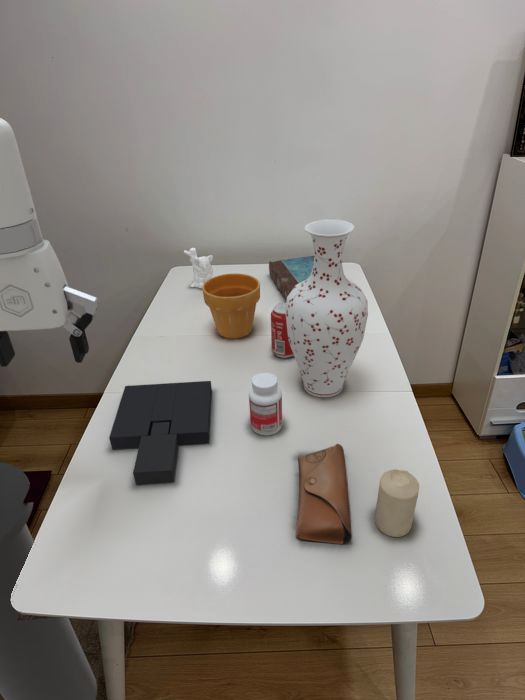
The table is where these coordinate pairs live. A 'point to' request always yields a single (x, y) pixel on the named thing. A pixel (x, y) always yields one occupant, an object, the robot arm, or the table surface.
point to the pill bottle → (265, 404)
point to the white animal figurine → (200, 268)
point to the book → (290, 272)
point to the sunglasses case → (323, 497)
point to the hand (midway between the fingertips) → (45, 359)
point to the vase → (326, 313)
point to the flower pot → (232, 303)
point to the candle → (396, 502)
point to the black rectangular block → (157, 456)
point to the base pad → (163, 413)
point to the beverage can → (280, 332)
